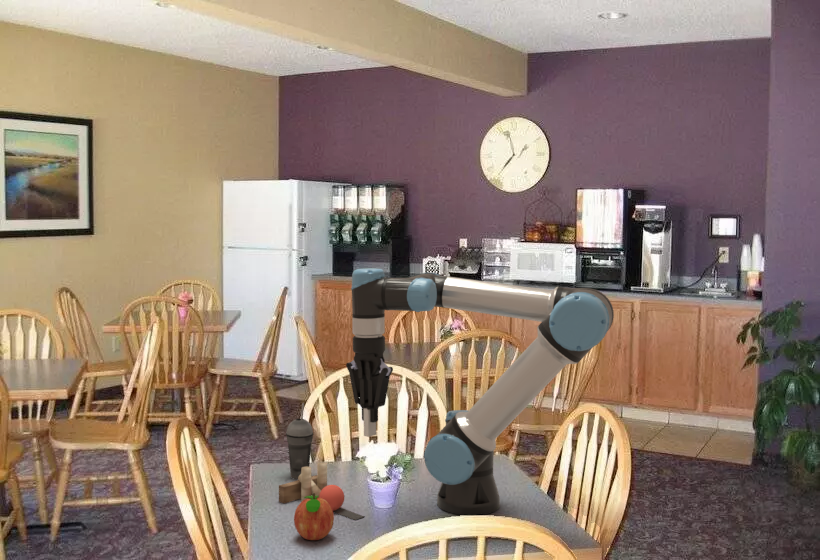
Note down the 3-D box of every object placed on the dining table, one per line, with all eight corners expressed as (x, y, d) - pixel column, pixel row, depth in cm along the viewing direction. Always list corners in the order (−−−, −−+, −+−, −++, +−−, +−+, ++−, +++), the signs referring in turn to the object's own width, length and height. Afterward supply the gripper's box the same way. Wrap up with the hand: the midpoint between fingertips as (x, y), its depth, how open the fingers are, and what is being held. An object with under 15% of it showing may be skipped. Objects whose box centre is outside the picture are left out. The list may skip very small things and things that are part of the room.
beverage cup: (298, 470, 244) (299, 398, 242) (319, 476, 240) (319, 402, 238) (279, 477, 238) (280, 402, 237) (300, 482, 234) (300, 407, 232)
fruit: (334, 530, 201) (335, 486, 200) (332, 546, 192) (332, 500, 191) (296, 530, 201) (296, 486, 200) (291, 546, 192) (291, 500, 191)
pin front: (329, 497, 218) (307, 472, 223) (323, 497, 216) (301, 472, 221) (323, 504, 218) (302, 479, 223) (317, 505, 216) (296, 479, 221)
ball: (334, 483, 218) (343, 506, 217) (312, 492, 216) (321, 516, 214) (342, 479, 213) (351, 503, 212) (319, 488, 210) (329, 512, 209)
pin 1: (313, 503, 218) (313, 467, 218) (308, 506, 216) (308, 469, 215) (304, 502, 219) (304, 465, 219) (299, 505, 217) (299, 468, 216)
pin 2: (328, 498, 222) (328, 463, 221) (323, 501, 220) (324, 465, 219) (320, 497, 223) (320, 461, 222) (315, 500, 221) (315, 464, 220)
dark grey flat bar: (364, 517, 210) (364, 516, 210) (355, 520, 207) (355, 519, 207) (335, 506, 216) (335, 505, 216) (326, 509, 214) (326, 508, 214)
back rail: (316, 490, 228) (316, 475, 228) (321, 492, 227) (321, 476, 226) (278, 501, 220) (278, 485, 219) (283, 503, 218) (283, 487, 218)
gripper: (400, 335, 208) (401, 436, 210) (359, 331, 216) (360, 427, 218) (378, 339, 202) (379, 443, 204) (337, 334, 210) (338, 434, 212)
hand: (370, 435), depth 211 cm, fingers closed
